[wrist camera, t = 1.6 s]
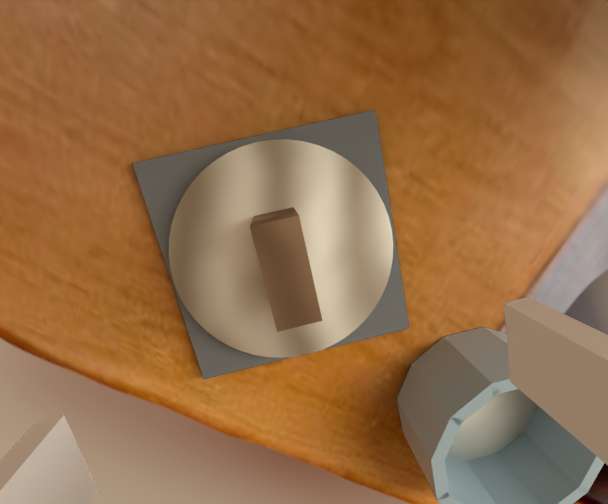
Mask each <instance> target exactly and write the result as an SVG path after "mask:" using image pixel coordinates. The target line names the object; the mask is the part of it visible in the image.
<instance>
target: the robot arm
mask: <svg viewBox="0 0 608 504" xmlns="http://www.w3.org/2000/svg"><path fill="white" fill-rule="evenodd" d="M504 308H505V320H506V333H507V345H508V357H509V369H510V382H511V383H512V384H514V385H515V386H516V387H517V388H518V389H519V390H520V391H522V392H523V393H524V394H525V395H526V396H527V397H529V398H530V399H531V400H532V401H533V402H534V403H536V404H537V405H538V406H539V407H540V408H541V409H543V410H544V411H545V412H546V413H547V414H548V415H550V416H551V417H552V418H553V419H554V420H555V421H557V422H558V423H559V424H560V425H561V426H562V427H564V428H565V429H566V430H567V431H568V432H569V433H571V434H572V435H573V436H574V437H575V438H576V439H577V440H579V441H580V442H581V443H582V444H583V445H584V446H586V447H587V448H588V449H589V450H590V451H591V452H593V453H594V454H595V455H596V456H597V457H598V458H600V459H601V460H602V461H603V462H604V463H605V464H607V465H608V335H606V334H604V333H602V332H600V331H598V330H596V329H594V328H592V327H590V326H587V325H585V324H583V323H581V322H579V321H577V320H575V319H573V318H571V317H569V316H567V315H564V314H562V313H560V312H558V311H556V310H554V309H552V308H550V307H548V306H546V305H543V304H541V303H539V302H537V301H535V300H533V299H531V298H529V297H527V298H523V299H519V300H515V301H511V302H507V303H504ZM98 492H99V491H98V489H97V487H96V485H95V482H94V480H93V478H92V476H91V473H90V471H89V469H88V467H87V465H86V462H85V460H84V458H83V456H82V454H81V452H80V449H79V447H78V445H77V443H76V441H75V438H74V437H73V434H72V432H71V430H70V428H69V425H68V423H67V421H66V419H65V416H64V415H62V416H58V417H54V418H50V419H46V420H42V421H38V422H36V423H35V424H34V425H33V426H32V427H31V428H30V429H29V430H28V432H27V433H26V434H25V435H24V436H23V437H22V438H21V439H20V440H19V441H18V442H17V443H16V445H15V446H14V447H13V448H12V449H11V450H10V451H9V452H8V453H7V454H6V455H5V456H4V457H3V459H2V460H1V461H0V504H93V502H94V500H95V498H96V496H97V494H98Z"/></svg>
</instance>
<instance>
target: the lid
mask: <svg viewBox="0 0 608 504" xmlns="http://www.w3.org/2000/svg"><path fill="white" fill-rule="evenodd" d="M392 260H393V236H392V229H391V224H390V220H389V216H388V214H387V211H386V208H385V206H384V203H383V201H382V199H381V198H380V196H379V194H378V192H377V190H376V189H375V188H374V186H373V185H372V183H371V182H370V181H369V179H368V178H367V177H366V176H365V175H364V174H363V173H362V172H361V171H360V170H359V169H358V168H357V167H356V166H354V165H353V164H352V163H351V162H349V161H348V160H347V159H345V158H344V157H342V156H340V155H339V154H337V153H335V152H333V151H331V150H329V149H326V148H324V147H322V146H319V145H316V144H312V143H308V142H304V141H297V140H289V139H283V140H267V141H260V142H255V143H252V144H248V145H245V146H242V147H239V148H237V149H235V150H233V151H231V152H228V153H226V154H225V155H223V156H222V157H220V158H218V159H217V160H215V161H214V162H213V163H211V164H210V165H209V166H208V167H207V168H205V169H204V170H203V171H202V172H201V173H200V174H199V175H198V176H197V178H196V179H195V180H194V181H193V182H192V183H191V185H190V186H189V188H188V189H187V191H186V192H185V194H184V195H183V197H182V199H181V201H180V203H179V205H178V207H177V209H176V212H175V215H174V218H173V221H172V225H171V231H170V237H169V261H170V269H171V273H172V277H173V281H174V284H175V287H176V289H177V292H178V294H179V296H180V298H181V300H182V302H183V303H184V305H185V307H186V309H187V310H188V311H189V312H190V314H191V315H192V316H193V318H194V319H195V320H196V321H197V322H198V323H199V324H200V325H201V326H202V327H203V328H204V329H205V330H206V331H207V332H209V333H210V334H211V335H212V336H214V337H215V338H216V339H218V340H220V341H221V342H223V343H225V344H227V345H228V346H231V347H233V348H235V349H237V350H240V351H243V352H246V353H249V354H253V355H258V356H264V357H275V358H286V357H297V356H302V355H307V354H311V353H314V352H317V351H320V350H323V349H325V348H327V347H330V346H332V345H334V344H336V343H337V342H339V341H341V340H342V339H344V338H345V337H347V336H348V335H349V334H351V333H352V332H353V331H354V330H356V329H357V328H358V327H359V326H360V325H361V324H362V323H363V322H364V321H365V320H366V319H367V317H368V316H369V315H370V314H371V312H372V311H373V310H374V308H375V307H376V305H377V303H378V302H379V300H380V298H381V296H382V294H383V292H384V290H385V287H386V285H387V282H388V279H389V275H390V272H391V266H392Z"/></svg>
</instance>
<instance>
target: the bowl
mask: <svg viewBox="0 0 608 504" xmlns="http://www.w3.org/2000/svg"><path fill="white" fill-rule="evenodd" d="M397 403H398V409H399V414H400V420H401V426H402V432H403V434H404V436H405V438H406V440H407V442H408V444H409V446H410V448H411V450H412V452H413V454H414V456H415V458H416V460H417V462H418V464H419V466H420V468H421V470H422V472H423V474H424V476H425V478H426V480H427V481H428V483H429V485H430V487H431V489H432V491H433V493H434V495H435V497H436V499H437V501H439V502H440V503H441V504H573V503H574V502H575V501H577V500H578V499H579V498H581V497H582V496H583V495H585V494H586V493H587V492H588V491H589V489H590V487H591V486H592V484H593V482H594V480H595V479H596V477H597V475H598V473H599V472H600V470H601V468H602V466H603V465H604V462H603V461H602V460H601V459H600V458H598V457H597V456H596V455H595V454H594V453H593V452H591V451H590V450H589V449H588V448H587V447H586V446H584V445H583V444H582V443H581V442H580V441H579V440H577V439H576V438H575V437H574V436H573V435H572V434H571V433H569V432H568V431H567V430H566V429H565V428H564V427H562V426H561V425H560V424H559V423H558V422H557V421H555V420H554V419H553V418H552V417H551V416H550V415H548V414H547V413H546V412H545V411H544V410H543V409H541V408H540V407H539V406H538V405H537V404H536V403H534V402H533V401H532V400H531V399H530V398H529V397H527V396H526V395H525V394H524V393H523V392H522V391H520V390H519V389H518V388H517V387H516V386H515V385H514V384H512V383H511V382H510V369H509V357H508V345H507V333H503V332H500V331H496V330H493V329H489V328H485V327H481V328H477V329H473V330H469V331H465V332H461V333H457V334H453V335H449V336H445V337H443V338H441V339H440V340H439V341H438V342H437V343H435V344H434V345H433V346H432V347H431V348H430V349H428V350H427V351H426V352H425V353H424V354H422V355H421V356H420V357H419V358H418V359H417V360H415V361H414V362H413V363H412V364H411V366H410V369H409V371H408V373H407V376H406V378H405V381H404V383H403V385H402V388H401V390H400V393H399V395H398V398H397Z"/></svg>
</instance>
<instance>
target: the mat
mask: <svg viewBox="0 0 608 504" xmlns="http://www.w3.org/2000/svg"><path fill="white" fill-rule="evenodd" d="M283 139H289V140H297V141H304V142H308V143H312V144H316V145H319V146H322V147H324V148H326V149H329V150H331V151H333V152H335V153H337V154H339V155H340V156H342V157H344V158H345V159H347V160H348V161H349V162H351V163H352V164H353V165H354V166H356V167H357V168H358V169H359V170H360V171H361V172H362V173H363V174H364V175H365V176H366V177H367V178H368V179H369V181H370V182H371V183H372V185H373V186H374V188H375V189H376V190H377V192H378V194H379V196H380V198H381V199H382V201H383V203H384V206H385V208H386V211H387V214H388V216H389V220H390V224H391V229H392V236H393V260H392V266H391V272H390V275H389V279H388V282H387V285H386V287H385V290H384V292H383V294H382V296H381V298H380V300H379V302H378V303H377V305H376V307H375V308H374V310H373V311H372V312H371V314H370V315H369V316H368V317H367V319H366V320H365V321H364V322H363V323H362V324H361V325H360V326H359V327H358V328H357V329H356V330H354V331H353V332H352V333H351V334H349V335H348V336H347V337H345V338H344V339H342V340H341V341H339V342H337V343H336V344H334V345H332V346H330V347H327V348H325V349H328V348H332V347H336V346H340V345H344V344H348V343H352V342H356V341H360V340H364V339H368V338H372V337H376V336H380V335H384V334H388V333H392V332H396V331H400V330H404V329H408V328H409V322H408V316H407V309H406V303H405V296H404V290H403V284H402V277H401V271H400V264H399V258H398V251H397V245H396V238H395V232H394V226H393V219H392V213H391V206H390V200H389V193H388V187H387V180H386V174H385V168H384V161H383V155H382V148H381V142H380V135H379V129H378V122H377V116H376V110H372V111H367V112H362V113H358V114H353V115H349V116H344V117H340V118H335V119H331V120H326V121H322V122H317V123H313V124H308V125H303V126H299V127H294V128H290V129H285V130H281V131H276V132H272V133H267V134H263V135H258V136H253V137H249V138H244V139H240V140H235V141H231V142H226V143H222V144H217V145H213V146H208V147H204V148H199V149H194V150H190V151H185V152H181V153H176V154H172V155H167V156H163V157H158V158H154V159H149V160H145V161H140V162H135V163H132V164H133V167H134V170H135V173H136V176H137V179H138V182H139V185H140V188H141V191H142V194H143V197H144V200H145V203H146V206H147V209H148V212H149V215H150V218H151V222H152V225H153V228H154V231H155V234H156V237H157V240H158V243H159V246H160V249H161V252H162V255H163V258H164V261H165V264H166V267H167V270H168V273H169V276H170V279H171V282H172V285H173V288H174V291H175V294H176V297H177V300H178V303H179V306H180V309H181V312H182V315H183V318H184V321H185V324H186V327H187V330H188V333H189V336H190V339H191V342H192V345H193V348H194V351H195V354H196V357H197V360H198V363H199V366H200V369H201V372H202V375H203V379H207V378H211V377H216V376H220V375H224V374H228V373H232V372H236V371H240V370H244V369H248V368H252V367H256V366H260V365H264V364H268V363H272V362H276V361H280V360H284V359H288V358H292V357H286V358H275V357H264V356H258V355H253V354H249V353H246V352H243V351H240V350H237V349H235V348H233V347H231V346H228V345H227V344H225V343H223V342H221V341H220V340H218V339H216V338H215V337H214V336H212V335H211V334H210V333H209V332H207V331H206V330H205V329H204V328H203V327H202V326H201V325H200V324H199V323H198V322H197V321H196V320H195V319H194V318H193V316H192V315H191V314H190V312H189V311H188V310H187V309H186V307H185V305H184V303H183V302H182V300H181V298H180V296H179V294H178V292H177V289H176V287H175V284H174V281H173V277H172V273H171V269H170V261H169V237H170V231H171V225H172V221H173V218H174V215H175V212H176V209H177V207H178V205H179V203H180V201H181V199H182V197H183V195H184V194H185V192H186V191H187V189H188V188H189V186H190V185H191V183H192V182H193V181H194V180H195V179H196V178H197V176H198V175H199V174H200V173H201V172H202V171H203V170H204V169H205V168H207V167H208V166H209V165H210V164H211V163H213V162H214V161H215V160H217V159H218V158H220V157H222V156H223V155H225V154H226V153H228V152H231V151H233V150H235V149H237V148H239V147H242V146H245V145H248V144H252V143H255V142H260V141H267V140H283ZM323 350H324V349H323Z"/></svg>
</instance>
